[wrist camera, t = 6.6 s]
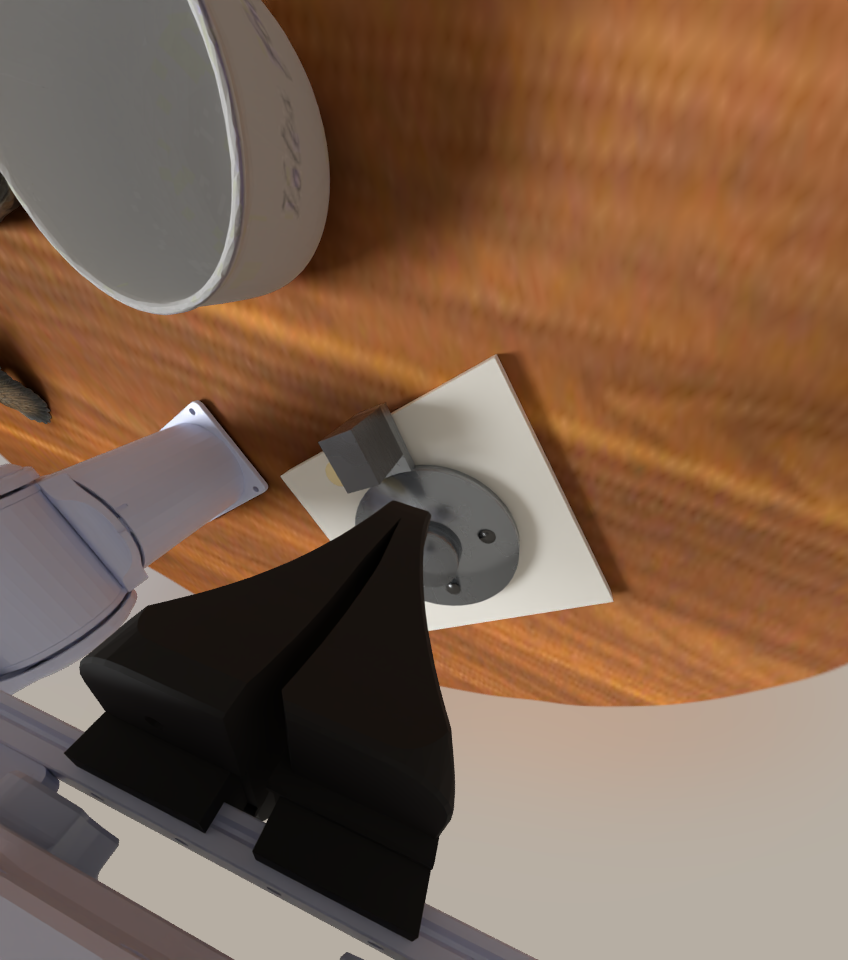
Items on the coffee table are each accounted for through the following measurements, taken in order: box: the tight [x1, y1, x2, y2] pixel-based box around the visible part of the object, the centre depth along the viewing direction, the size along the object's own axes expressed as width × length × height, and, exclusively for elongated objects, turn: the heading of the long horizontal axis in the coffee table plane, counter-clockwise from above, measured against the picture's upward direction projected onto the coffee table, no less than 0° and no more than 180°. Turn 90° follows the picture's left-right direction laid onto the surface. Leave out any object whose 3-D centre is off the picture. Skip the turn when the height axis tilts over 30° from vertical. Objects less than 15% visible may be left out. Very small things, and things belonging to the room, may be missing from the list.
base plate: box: [280, 354, 613, 631], centre depth 22 cm, size 17×17×4 cm
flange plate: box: [318, 402, 520, 606], centre depth 21 cm, size 15×11×4 cm
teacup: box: [0, 0, 330, 315], centre depth 13 cm, size 14×11×8 cm
